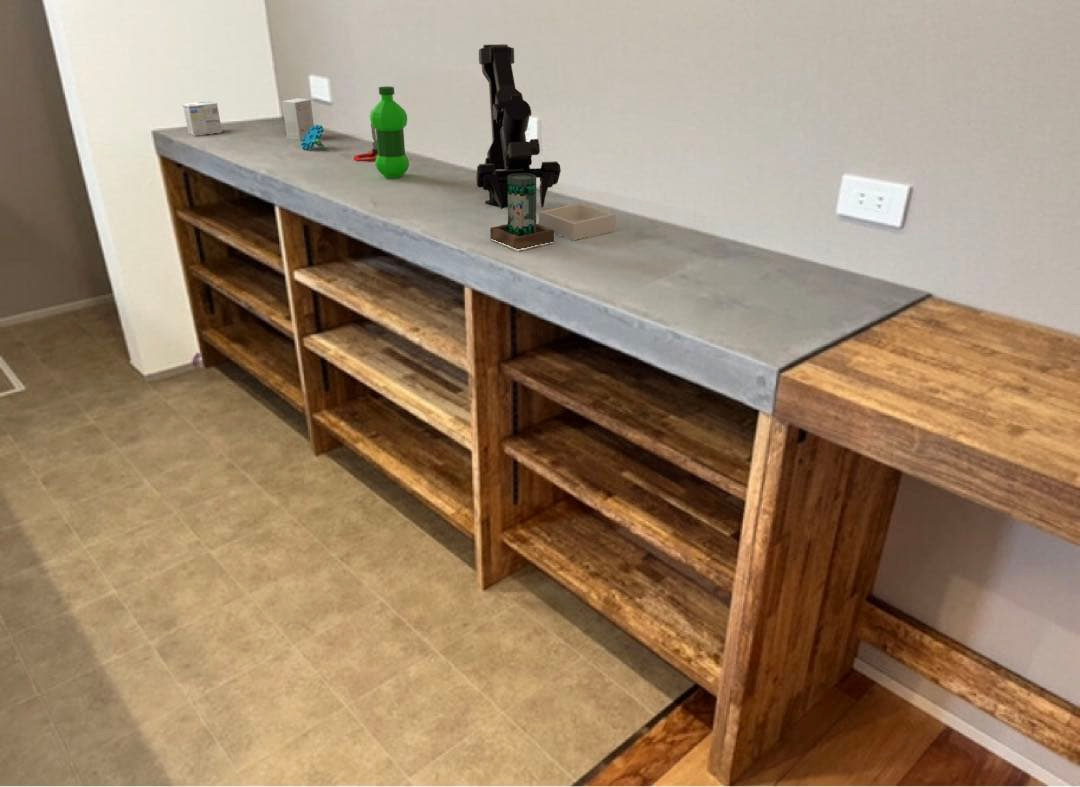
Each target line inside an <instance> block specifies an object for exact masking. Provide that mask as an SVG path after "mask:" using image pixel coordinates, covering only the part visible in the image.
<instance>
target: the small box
mask: <svg viewBox="0 0 1080 787" xmlns="http://www.w3.org/2000/svg"><path fill="white" fill-rule="evenodd" d="M281 103H282V104H281V105H282V109H283V110H282V111H283V118H284V124H285V125H284V126H285V131H286V139H287V140H291V141H292V140H293V141H299V140H300V141H301V142H302V141H303V140H302V138H303V137H304V136H305V137H307V134H306V132H307V131H309V132H310V131H311V127H314V128H315V125H314V117H313V115H314V114H313V108H312V101H311V99H309V98H299V97H297V98H293V99H288V100H283V101H281Z"/></svg>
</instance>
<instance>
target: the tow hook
mask: <svg viewBox="0 0 1080 787" xmlns="http://www.w3.org/2000/svg"><path fill="white" fill-rule="evenodd" d="M370 128H371V136H372V141H371V142H372V148H371V150H369V151H368V152H366V153H359V154H357V155H354V156H353V161H355V160H356V161H355V162H359V161H370V162H375V160H376V157H377V155H378V150H377V138H376V129H375V128H374V127H373V126H372V124H371V123H370ZM374 156H375V157H374ZM366 157H367V158H366Z"/></svg>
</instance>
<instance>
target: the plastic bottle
mask: <svg viewBox="0 0 1080 787" xmlns="http://www.w3.org/2000/svg"><path fill="white" fill-rule="evenodd" d="M378 94H379V95H380V97H381V100H380V101H379V102H378V103H377V104H376V105H375V106H374V107H373V108H372V109H371V110H370V114H369V118H370V125H371V124H372V126H373V127H374V128H375V132H376V140H377V150H378V155H377V157H376V160H375V161H374V162H375V163H374V164H375V165H374V166H375V167H376V170H377V171H378V172H379V173H380V174H381V175H382V176H383V177H385V179H398V178H401V177H403V175H405V173H406V172H407V171H408V169H409V167H410V161H409V158H408V156H407V154H406V149H405V147H406V146H405V134H404V129H405V127H406V126H407V125H408V114H407V112H406V110H405V109H404V108H403V107H402V106H401V105H400V104H399V103H397V102H396V101H395V100H394V98H393V97H394V96H393V95H395V87H394V86H387V85H385V86H380V87H379V86H378Z"/></svg>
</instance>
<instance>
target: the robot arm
mask: <svg viewBox="0 0 1080 787" xmlns="http://www.w3.org/2000/svg"><path fill="white" fill-rule="evenodd" d="M478 62H479V65H481V72H482V75H483V76H484V77H485V79H486V80H487V82H488V85H489V86H488V87H489V89H488V90H489V104H490V105H489V106H490V108H489V109H490V119H491V120H490V122H491V137H492V139H491V140H492V142H491V144H490V146H489V148H488V149H487V152H486V155H487V156H486V157H485V161H484V163H479V164H478V165H477V166H476V176H475V177H476V180H475V181H476V187H478V188H482V189H483V190H484V191H487V192H488V195H489V196H488V197H489V198H488V200H487V199H486V200H485V201H484V203H485V204H488V205H491V206H492V205H493V206H496V207H499V208H500V210H504V207H508V187H507V176H508V175H510V174H513V173H514V174H515V173H530V174H534V175H536V179H538V178H539V198H540V199H539V201H540V202H539V203H540V206H541V208H544V207H545V206H544V205H545V201H546V196H547V191H548V189H550V188H553V186H555V185H557V184H558V182H559V178H560V175H561V171H562V170H561V165H560V163H559V162H558V161H542V162H541V166H540V168H539V167H537V168H531V165H532V162H533V161H532V160H533V159H532V158H533V156H538V155H539V154H540V151H541V150H540V141H539V138H532V139H530V140H529V141H527V137H526V136H527V135H526V132H527V130H528V127H529V121H530V116H532V109H531V106H530V105H529V103H528V102H527V101H526V100H524V97H523V94H522V92H520V91H519V90H518V89H516V84H515V78H514V72H513V67H512V65H514V64H515V48H514V47H511V46H508V44H507V43H505V44H503V43H501V44H500V43H499V44H483V46H482V47H481V48H479V49H478Z"/></svg>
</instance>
